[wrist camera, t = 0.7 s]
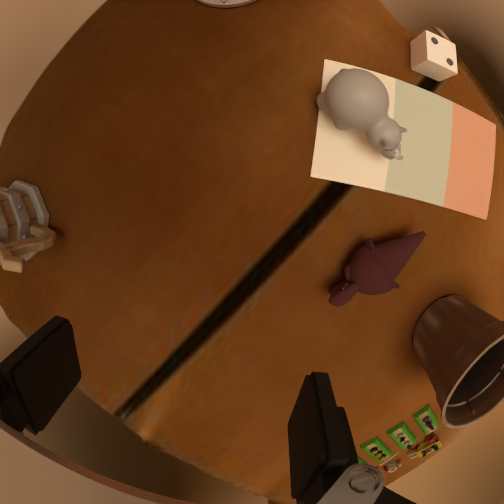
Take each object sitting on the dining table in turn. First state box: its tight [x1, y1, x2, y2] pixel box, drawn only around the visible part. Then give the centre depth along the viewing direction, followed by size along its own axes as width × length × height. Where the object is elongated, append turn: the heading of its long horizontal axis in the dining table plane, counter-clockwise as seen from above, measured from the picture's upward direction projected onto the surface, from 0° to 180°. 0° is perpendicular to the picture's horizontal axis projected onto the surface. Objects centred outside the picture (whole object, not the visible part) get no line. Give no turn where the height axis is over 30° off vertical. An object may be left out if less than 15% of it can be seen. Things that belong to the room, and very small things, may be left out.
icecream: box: [329, 231, 426, 306], centre depth 33 cm, size 7×7×15 cm
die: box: [410, 30, 457, 82], centre depth 26 cm, size 5×5×5 cm
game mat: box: [310, 59, 496, 220], centre depth 32 cm, size 16×30×1 cm, turn 82°
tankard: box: [0, 180, 56, 273], centre depth 30 cm, size 20×13×15 cm, turn 71°
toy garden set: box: [357, 404, 442, 472], centre depth 46 cm, size 23×19×5 cm
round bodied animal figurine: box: [316, 68, 407, 160], centre depth 28 cm, size 7×12×8 cm, turn 39°
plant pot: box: [413, 295, 504, 428], centre depth 31 cm, size 16×16×16 cm
